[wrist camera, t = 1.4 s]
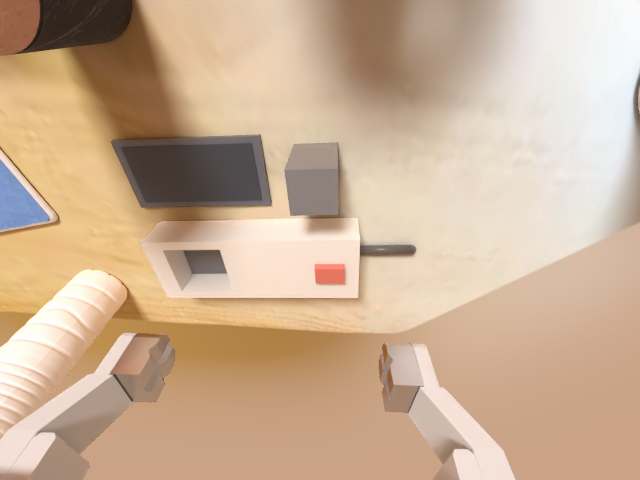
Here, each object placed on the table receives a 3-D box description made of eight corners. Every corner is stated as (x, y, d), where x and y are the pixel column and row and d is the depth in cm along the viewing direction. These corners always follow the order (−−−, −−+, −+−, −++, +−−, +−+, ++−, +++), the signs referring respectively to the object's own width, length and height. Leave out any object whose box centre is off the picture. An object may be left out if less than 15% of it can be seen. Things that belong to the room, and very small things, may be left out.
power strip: (420, 216, 31) (432, 243, 27) (410, 273, 35) (419, 303, 31) (159, 221, 33) (135, 247, 29) (182, 274, 37) (164, 303, 33)
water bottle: (138, 299, 41) (-59, 568, 20) (99, 305, 42) (-124, 565, 22) (96, 251, 36) (-217, 542, 16) (53, 259, 37) (-291, 540, 17)
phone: (261, 132, 27) (258, 136, 26) (272, 200, 31) (270, 205, 30) (117, 138, 28) (109, 141, 27) (146, 202, 32) (140, 208, 31)
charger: (337, 142, 27) (337, 168, 22) (338, 184, 29) (338, 215, 24) (294, 144, 27) (284, 170, 22) (298, 185, 29) (290, 216, 24)
